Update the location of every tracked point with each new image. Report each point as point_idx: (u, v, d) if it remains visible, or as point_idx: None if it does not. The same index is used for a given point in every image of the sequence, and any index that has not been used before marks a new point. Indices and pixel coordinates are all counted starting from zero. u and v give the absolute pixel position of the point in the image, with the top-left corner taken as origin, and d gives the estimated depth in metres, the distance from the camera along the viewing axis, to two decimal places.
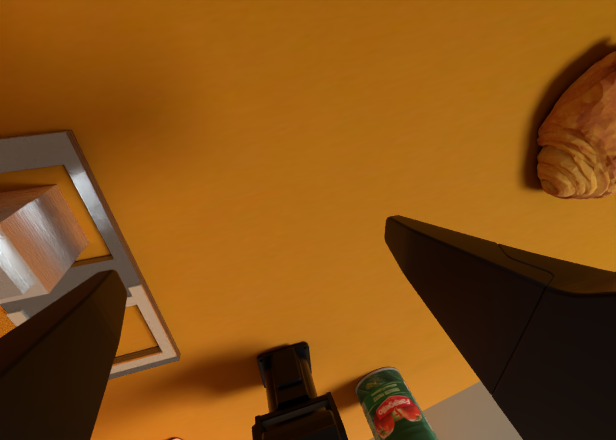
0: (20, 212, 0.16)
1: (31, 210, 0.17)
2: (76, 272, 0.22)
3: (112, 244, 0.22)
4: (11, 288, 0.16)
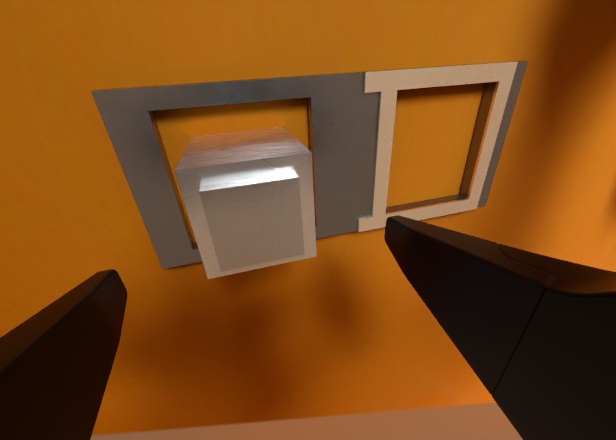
0: (185, 156, 0.11)
1: (194, 150, 0.12)
2: (321, 151, 0.16)
3: (285, 90, 0.14)
4: (284, 185, 0.10)
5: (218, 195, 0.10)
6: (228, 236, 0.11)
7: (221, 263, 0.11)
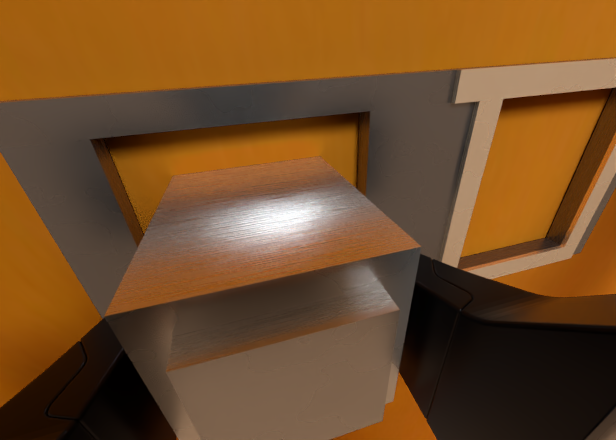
0: (147, 245, 0.05)
1: (169, 224, 0.06)
2: (378, 193, 0.10)
3: (329, 101, 0.08)
4: (365, 328, 0.04)
5: (215, 370, 0.04)
6: (237, 429, 0.05)
7: None
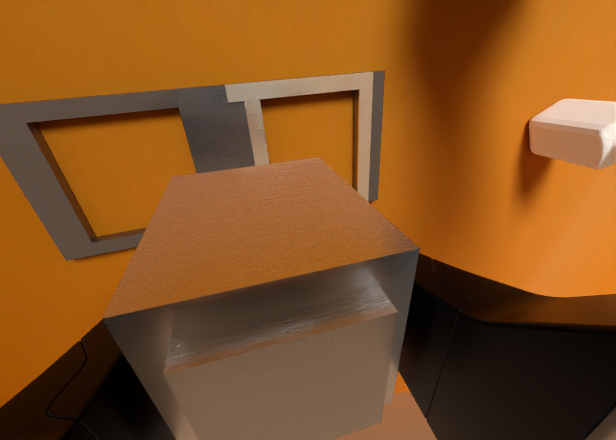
0: (146, 247, 0.05)
1: (168, 225, 0.06)
2: (199, 153, 0.18)
3: (152, 102, 0.16)
4: (363, 330, 0.04)
5: (213, 372, 0.04)
6: (236, 430, 0.05)
7: None
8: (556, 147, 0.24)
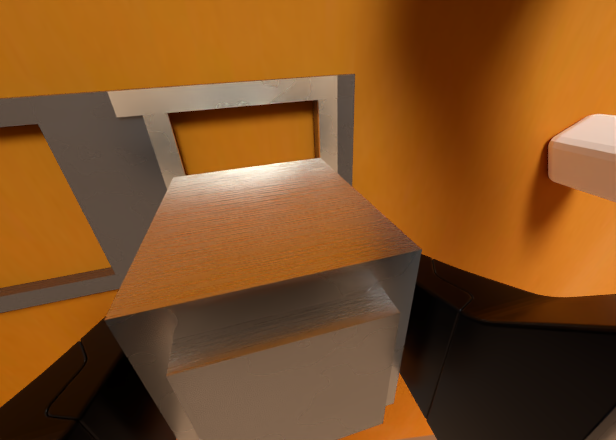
0: (147, 248, 0.05)
1: (169, 226, 0.06)
2: (84, 188, 0.13)
3: None
4: (365, 332, 0.04)
5: (215, 374, 0.04)
6: (238, 432, 0.05)
7: None
8: (584, 177, 0.19)
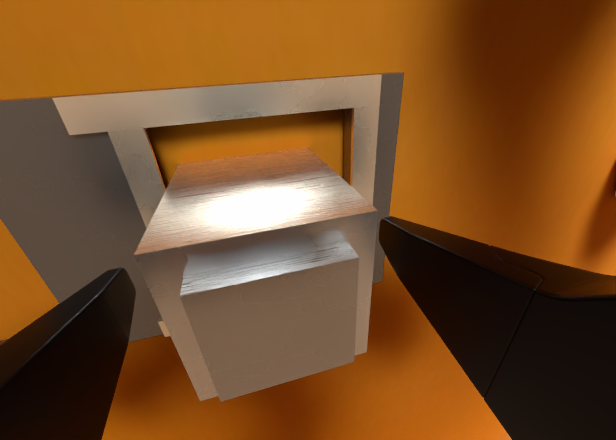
0: (161, 212, 0.07)
1: (178, 198, 0.07)
2: (30, 232, 0.09)
3: None
4: (332, 272, 0.06)
5: (216, 298, 0.05)
6: (233, 354, 0.06)
7: (221, 391, 0.07)
8: None
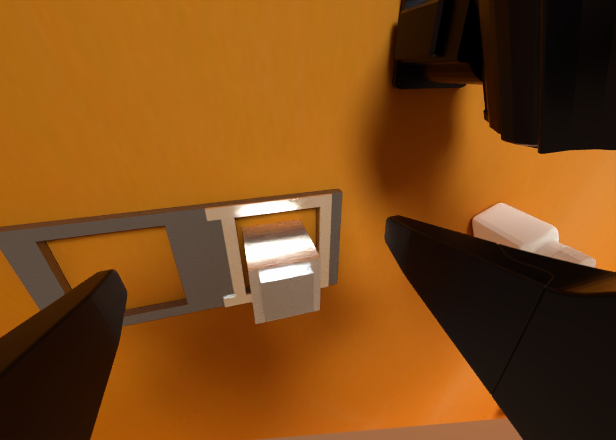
0: (248, 255, 0.19)
1: (251, 248, 0.20)
2: (181, 256, 0.22)
3: (142, 223, 0.20)
4: (305, 277, 0.19)
5: (270, 284, 0.18)
6: (272, 303, 0.19)
7: (266, 317, 0.19)
8: None
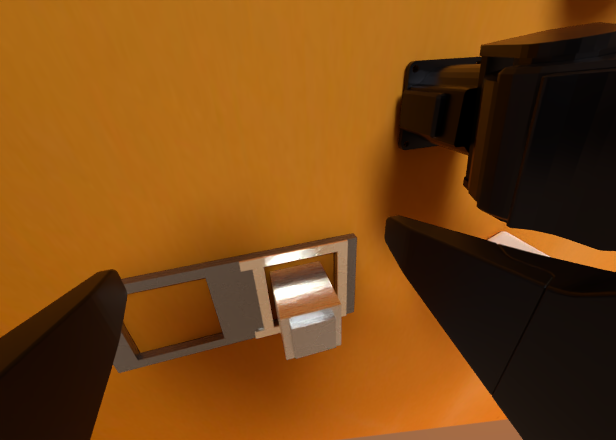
0: (278, 303, 0.22)
1: (280, 295, 0.23)
2: (219, 301, 0.25)
3: (187, 277, 0.23)
4: (328, 322, 0.22)
5: (299, 330, 0.21)
6: (301, 344, 0.22)
7: (296, 355, 0.23)
8: None
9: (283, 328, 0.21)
